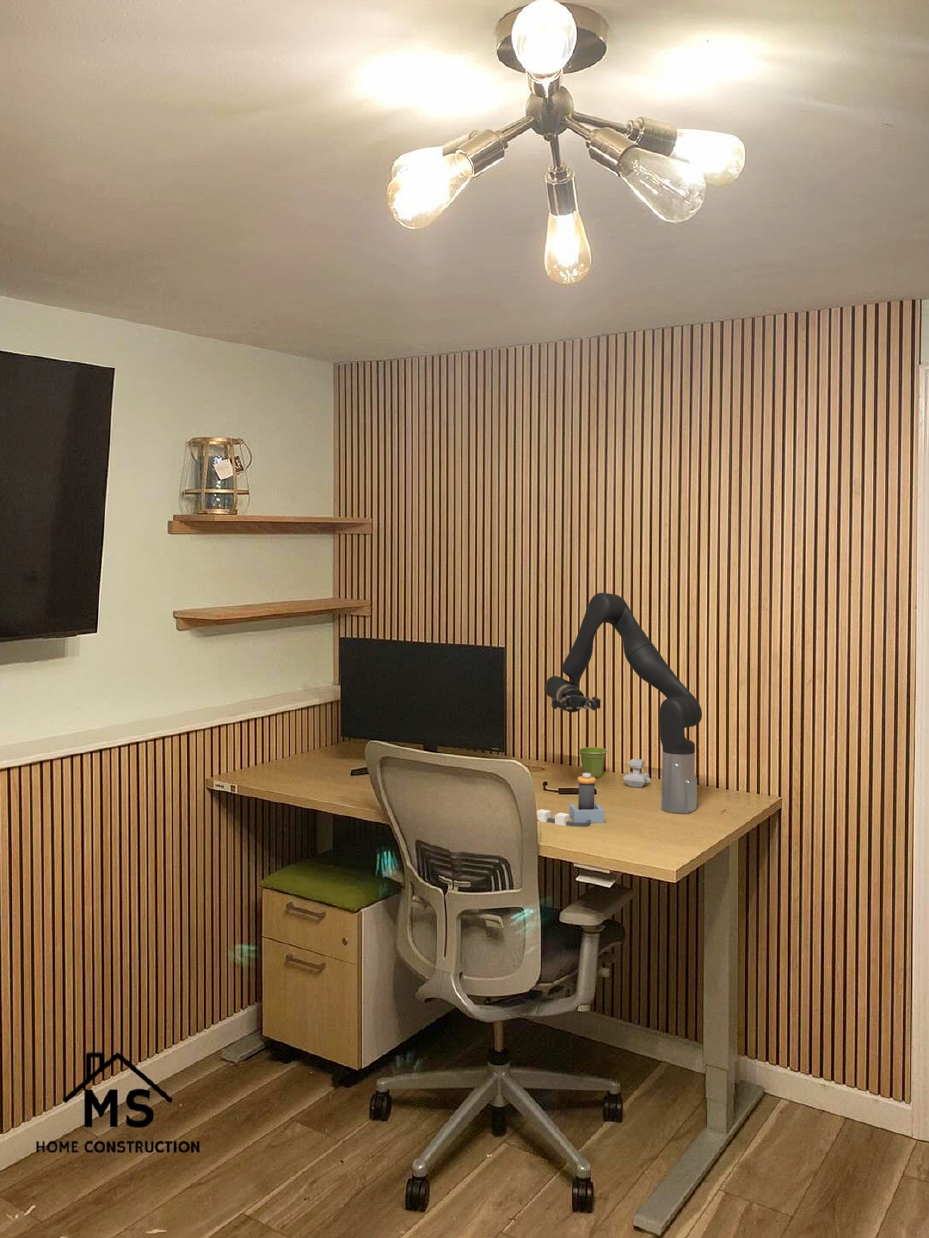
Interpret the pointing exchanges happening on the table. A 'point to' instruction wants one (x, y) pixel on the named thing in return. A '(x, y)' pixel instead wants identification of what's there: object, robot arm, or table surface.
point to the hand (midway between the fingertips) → (579, 707)
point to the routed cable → (559, 819)
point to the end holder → (587, 814)
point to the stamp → (636, 774)
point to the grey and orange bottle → (586, 791)
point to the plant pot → (593, 760)
